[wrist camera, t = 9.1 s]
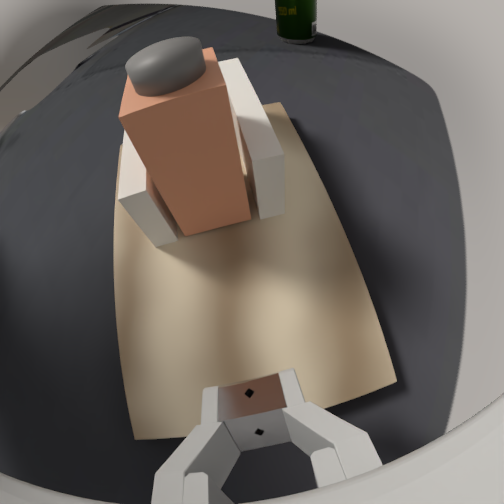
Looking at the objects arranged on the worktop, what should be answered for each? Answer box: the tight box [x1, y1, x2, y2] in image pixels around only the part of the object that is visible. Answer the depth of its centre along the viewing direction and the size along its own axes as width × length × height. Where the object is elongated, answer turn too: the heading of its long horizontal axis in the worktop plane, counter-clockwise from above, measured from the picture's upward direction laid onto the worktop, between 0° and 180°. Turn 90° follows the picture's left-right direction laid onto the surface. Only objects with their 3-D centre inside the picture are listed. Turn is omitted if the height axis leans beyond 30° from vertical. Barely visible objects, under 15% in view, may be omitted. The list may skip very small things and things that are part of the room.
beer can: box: [275, 0, 317, 44], centre depth 26 cm, size 5×5×12 cm
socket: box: [118, 58, 285, 247], centre depth 17 cm, size 8×11×5 cm
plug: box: [119, 37, 251, 236], centre depth 13 cm, size 4×4×10 cm
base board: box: [114, 102, 397, 440], centre depth 18 cm, size 14×22×2 cm, turn 13°
